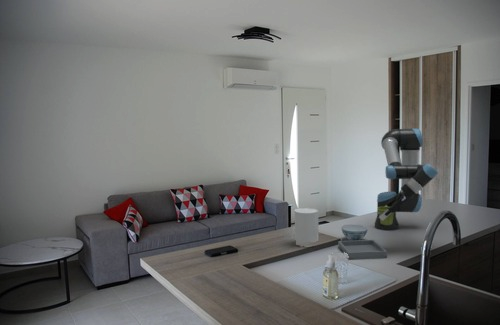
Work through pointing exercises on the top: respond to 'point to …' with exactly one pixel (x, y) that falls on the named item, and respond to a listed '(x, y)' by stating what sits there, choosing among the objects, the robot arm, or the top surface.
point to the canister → (306, 225)
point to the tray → (362, 249)
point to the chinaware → (354, 232)
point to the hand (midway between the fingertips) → (380, 216)
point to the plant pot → (389, 218)
